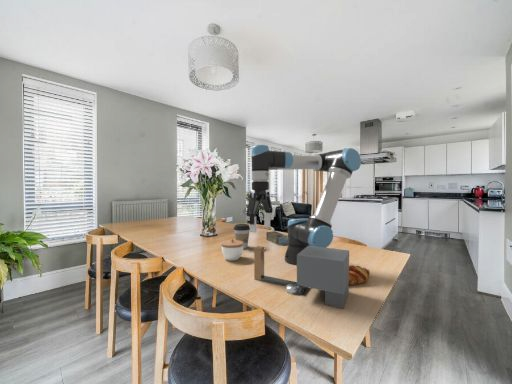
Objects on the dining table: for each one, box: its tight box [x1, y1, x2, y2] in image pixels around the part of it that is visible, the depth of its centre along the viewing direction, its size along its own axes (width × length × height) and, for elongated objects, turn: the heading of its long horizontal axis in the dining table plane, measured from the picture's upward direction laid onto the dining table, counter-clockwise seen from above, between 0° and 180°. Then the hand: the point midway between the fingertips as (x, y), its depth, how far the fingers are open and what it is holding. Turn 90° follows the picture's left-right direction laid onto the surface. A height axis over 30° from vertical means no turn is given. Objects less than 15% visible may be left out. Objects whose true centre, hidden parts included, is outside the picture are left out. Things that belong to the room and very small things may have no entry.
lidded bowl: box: [220, 238, 244, 261], centre depth 132 cm, size 13×13×11 cm
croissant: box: [349, 264, 370, 286], centre depth 101 cm, size 21×10×8 cm, turn 126°
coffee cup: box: [233, 223, 250, 250], centre depth 156 cm, size 11×11×15 cm
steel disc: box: [285, 284, 299, 295], centre depth 91 cm, size 5×5×2 cm
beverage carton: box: [265, 230, 288, 246], centre depth 171 cm, size 8×19×7 cm, turn 24°
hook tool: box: [253, 245, 307, 296], centre depth 96 cm, size 22×8×14 cm, turn 62°
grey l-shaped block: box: [296, 246, 350, 310], centre depth 88 cm, size 17×15×16 cm
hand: (260, 229), depth 103 cm, fingers open, 13 cm apart
